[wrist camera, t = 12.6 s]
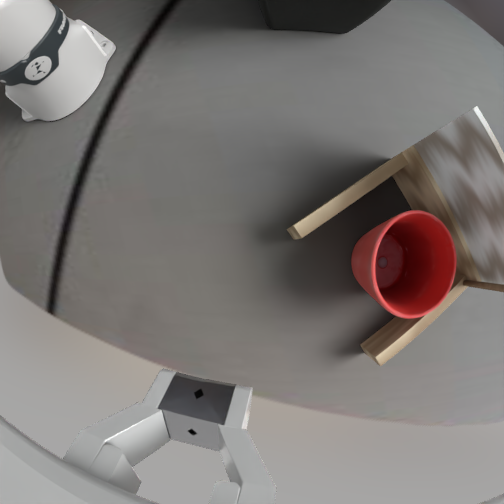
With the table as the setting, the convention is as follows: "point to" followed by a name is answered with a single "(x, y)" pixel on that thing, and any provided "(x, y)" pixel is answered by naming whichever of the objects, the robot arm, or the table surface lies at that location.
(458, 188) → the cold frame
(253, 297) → the table surface
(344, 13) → the flower pot
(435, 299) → the flower pot
